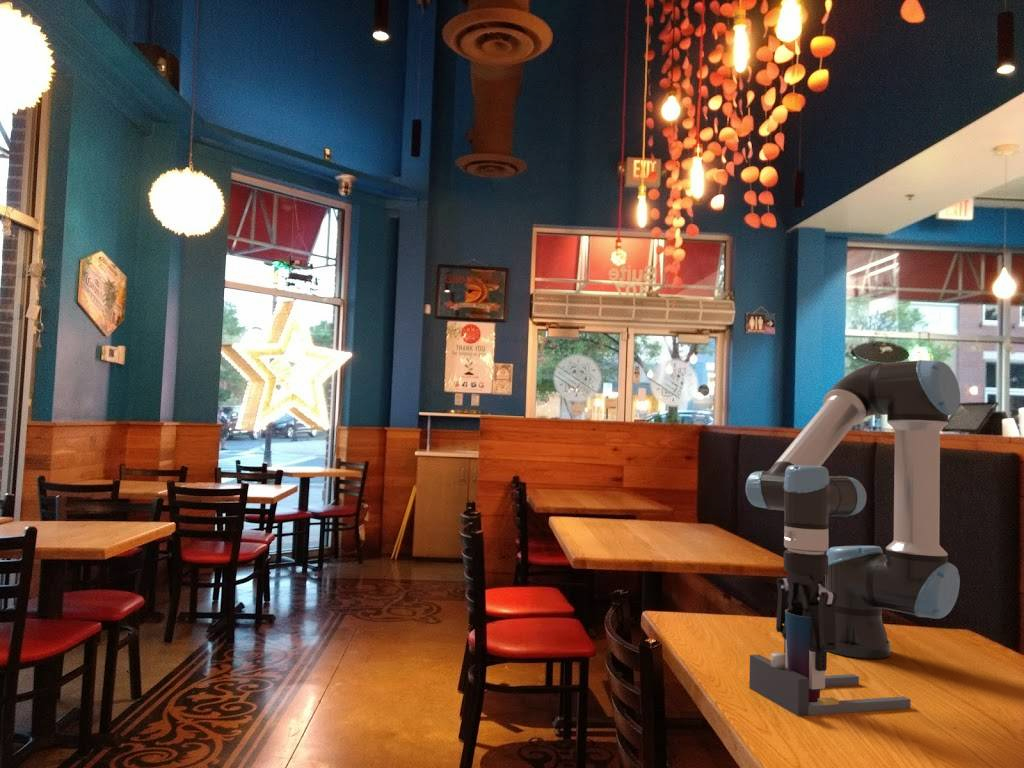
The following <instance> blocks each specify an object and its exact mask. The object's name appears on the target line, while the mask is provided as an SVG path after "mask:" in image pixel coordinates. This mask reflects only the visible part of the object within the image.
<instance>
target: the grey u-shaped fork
mask: <svg viewBox="0 0 1024 768" xmlns="http://www.w3.org/2000/svg"><path fill="white" fill-rule="evenodd" d="M856 685H860V676H858V675H856V674H855V673H851V674H850V673H849V674H846V673H845V674H834V675H832V674H831V675H828V674H827V675H825V688H826V687H827V688H828V687H841V686H843V687H844V686H856ZM749 689H750V690H752V691H754V692H756V693H757V694H758V695H760V696H762V697H764V698H766V699H768V700H770V701H771V702H773V703H774V704H776V705H778V706H780V707H781V708H783V709H785V710H787V711H788V712H791V713H792V714H793V715H795V716H797V717H805V716H806V717H807V716H817V715H820V716H821V715H833V714H834V715H835V714H846V713H859V712H862V713H863V712H874V711H875V712H878V711H888V710H890V711H891V710H902V709H903V710H904V709H905V710H907V709H911V708H912V707H911V703H912V702H911V701H912V700H911V698H909V697H906V696H891V697H890V696H889V697H875V698H872V697H871V698H861V699H859V698H858V699H845V700H842V699H841V700H839V699H837V698H834V697H832V696H831V697H820V698H818V699H817V702H811V703H809V679H808V678H806V677H804V676H802V675H800V674H798V673H796V672H794V671H792V670H790V669H788V668H786V667H785V654H784V653H781V652H771V653H770V659H769V658H768V657H765V656H763V655H762V654H749Z"/></svg>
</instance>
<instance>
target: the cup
mask: <svg viewBox="0 0 1024 768" xmlns="http://www.w3.org/2000/svg"><path fill="white" fill-rule="evenodd" d="M815 618H819V617H815ZM785 621H786V641H787V660H788V669H790V670H792V671H794V672H796V673H798V674H800V675H802V676H804V677H806V678H808V679H809V650H810V649H809V648H813V646H812V641H811V635H810V630H811V617H807V613H806V611H805V610H804V609H803V613H802V616H797V615H793V614H790V610H789V609H786V610H785ZM819 644H820V642H819ZM818 698H821V689H810V688H809V703H811V702H817V699H818Z"/></svg>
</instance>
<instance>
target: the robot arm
mask: <svg viewBox="0 0 1024 768" xmlns="http://www.w3.org/2000/svg"><path fill="white" fill-rule="evenodd" d="M960 405H961V391H960V385H959V383H958V379H957V377H956V375H955V373H954V371H953V369H952V368H951V367H950V366H949V365H948V364H947V363H945V362H943V361H941V360H920V359H919V360H911V361H909V360H908V361H900V362H899V361H897V362H884V363H883V362H882V363H881V362H880V363H870V364H868V365H865V366H862V367H860V368H857V369H855V370H854V371H852V372H851V373H849V374H847V375H846V376H845V377H843V378H842V379H840V380H839V381H837V383H836V384H834V385H833V387H831V388H830V390H828V392H826V394H825V395H824V397H823V400H822V406H821V407H820V408H819V410H818V411H817V412H816V413H815V414H814V416H813V417H812V418H811V419H810V421H808V422H807V424H806V425H805V426H804V428H803V429H802V430H801V431H800V433H798V435H797V436H796V437H795V438H794V440H793V441H792V442H791V443H790V444H789V446H787V448H786V449H785V450H784V452H783V453H782V454H781V455H780V457H778V459H777V460H776V461H775V462H774V464H773V465H772V466H771V468H770V469H768V470H767V471H765V470H761V471H754V472H752V473H750V475H748V477H747V479H746V483H745V495H746V498H747V500H748V502H749V503H750V504H751V505H752V506H753V507H756V508H762V509H767V510H776V511H784V520H783V525H784V529H783V533H784V534H783V535H784V537H783V546H784V548H786V549H785V550H784V551H783V567H782V568H783V570H784V571H785V572H787V573H788V574H787V576H786V577H785V578H777V579H776V587H777V604H776V606H777V607H776V624H775V626H776V627H775V631H776V632H777V633H781V635H782V638H783V639H784V640H783V643H784V646H783V654H784V655H785V667H786V668H788V660H787V641H786V621H785V610H786V609H789V610H790V614H793V615H797V616H802V613H803V609H804V610H805V611H806V613H807V617H811V630H810V635H811V641H812V646H813V648H809V649H810V650H809V688H810V689H820V690H823V689H826V687H825V676H826V670H827V668H828V667H827V666H828V665H827V663H828V661H827V660H828V659H827V658H828V657H827V653H828V652H830V653H833V654H836V655H840V656H845V657H850V658H851V657H852V658H858V659H871V660H872V659H885V658H888V657H890V656H891V643H890V641H889V638H888V634H887V630H886V628H885V624H884V621H883V619H882V617H883V616H882V609H883V610H889V611H895V612H900V613H904V614H909V615H914V616H915V617H917V618H929V619H934V620H935V619H936V620H937V619H943V618H944V617H946V616H947V615H949V613H950V612H951V611H952V610H953V608H954V606H955V604H956V602H957V599H958V597H959V591H960V585H961V583H960V582H961V579H960V574H959V570H958V568H957V567H956V566H955V565H954V564H952V563H951V562H949V561H948V559H949V558H948V556H949V555H948V552H947V551H946V550H944V548H943V547H942V546H941V545H940V514H941V513H940V507H941V506H940V502H941V501H940V500H941V499H940V494H941V493H940V490H941V489H940V488H941V487H940V485H941V484H940V481H941V480H940V477H941V476H940V475H941V473H940V472H941V470H940V469H941V466H940V465H941V457H940V456H941V449H940V448H941V431H942V430H943V429H944V428H945V427H947V426H948V425H949V416H952V415H955V414H957V412H958V411H959V409H960V408H959V406H960ZM876 415H877V416H878V415H884V416H885V415H886V417H887V418H886V419H887V421H886V423H888V425H889V426H891V428H892V429H893V431H894V466H893V467H894V472H893V474H894V480H893V481H894V486H893V487H894V488H893V491H894V492H893V540H892V542H890V543H889V544H888V545H887V546H886V547H885V554H884V553H883V552H884V551H883V549H882V547H881V546H879V545H878V546H877V545H843V546H841V545H840V546H832V547H830V546H829V543H830V541H829V517H844V518H847V517H849V516H854V515H857V514H858V513H860V512H861V511H862V510H863V509H864V508H865V506H866V504H867V499H868V498H867V491H866V489H865V486H863V484H862V482H860V481H859V480H858V479H856V478H854V477H850V476H846V475H838V476H836V475H835V476H834V475H829V474H830V473H829V470H828V468H827V467H826V466H822V465H824V464H825V461H826V460H828V458H829V456H830V455H831V454H832V453H833V451H834V450H835V449H836V448H837V446H838V445H840V443H841V441H842V440H843V439H844V438H845V436H846V435H847V434H848V433H849V432H850V430H851V429H852V427H853V426H857V425H859V424H861V423H863V421H864V420H865V419H866V418H867V417H870V416H876ZM829 547H830V548H829ZM824 577H825V578H824ZM815 617H819V618H815ZM819 642H820V644H819Z"/></svg>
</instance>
